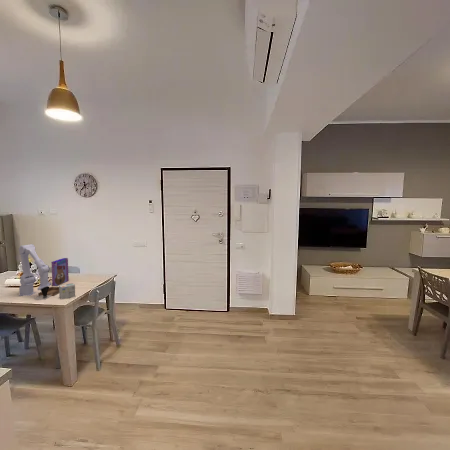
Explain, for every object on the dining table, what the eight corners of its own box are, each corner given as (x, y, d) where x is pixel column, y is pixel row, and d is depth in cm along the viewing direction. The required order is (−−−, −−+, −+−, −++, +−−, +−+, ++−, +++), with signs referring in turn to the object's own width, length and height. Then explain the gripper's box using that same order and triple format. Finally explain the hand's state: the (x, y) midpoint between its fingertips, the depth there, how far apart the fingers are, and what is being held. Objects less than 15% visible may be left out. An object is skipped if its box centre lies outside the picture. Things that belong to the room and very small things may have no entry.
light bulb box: (72, 294, 231) (72, 282, 230) (75, 296, 227) (75, 284, 226) (58, 298, 223) (58, 285, 222) (62, 299, 218) (61, 287, 217)
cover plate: (34, 300, 217) (34, 298, 217) (40, 297, 225) (40, 295, 225) (45, 300, 217) (45, 298, 217) (51, 297, 225) (51, 295, 225)
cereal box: (57, 286, 253) (56, 261, 251) (52, 286, 253) (51, 261, 251) (68, 280, 270) (67, 258, 268) (64, 280, 270) (63, 257, 268)
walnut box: (38, 296, 225) (38, 293, 225) (51, 290, 242) (51, 286, 242) (53, 296, 225) (53, 293, 225) (65, 290, 242) (65, 286, 242)
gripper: (43, 282, 215) (44, 298, 216) (54, 277, 229) (54, 292, 231) (34, 282, 215) (35, 298, 216) (46, 277, 229) (46, 292, 230)
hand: (44, 295), depth 223 cm, fingers closed
